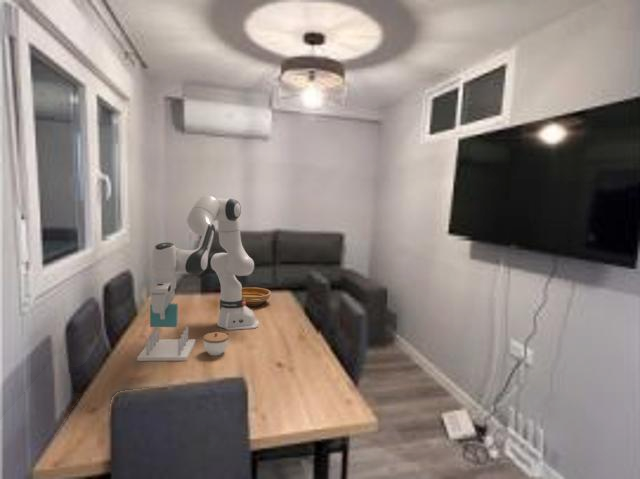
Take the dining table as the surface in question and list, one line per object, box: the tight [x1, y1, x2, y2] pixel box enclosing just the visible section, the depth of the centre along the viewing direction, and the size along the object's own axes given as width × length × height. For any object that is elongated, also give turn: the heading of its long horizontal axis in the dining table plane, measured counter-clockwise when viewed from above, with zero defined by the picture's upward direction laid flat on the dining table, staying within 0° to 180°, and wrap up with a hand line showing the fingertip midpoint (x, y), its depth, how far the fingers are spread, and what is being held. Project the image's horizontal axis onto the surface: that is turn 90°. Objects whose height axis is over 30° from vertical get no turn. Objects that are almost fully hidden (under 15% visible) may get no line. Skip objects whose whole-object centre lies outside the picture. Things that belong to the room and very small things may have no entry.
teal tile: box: [149, 303, 179, 328], centre depth 156 cm, size 10×2×9 cm, turn 98°
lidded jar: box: [203, 331, 229, 357], centre depth 173 cm, size 11×11×9 cm
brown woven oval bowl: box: [242, 287, 272, 307], centre depth 252 cm, size 30×24×8 cm
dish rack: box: [136, 326, 196, 362], centre depth 172 cm, size 20×20×8 cm
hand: (164, 317), depth 156 cm, fingers closed on teal tile, 2 cm apart
